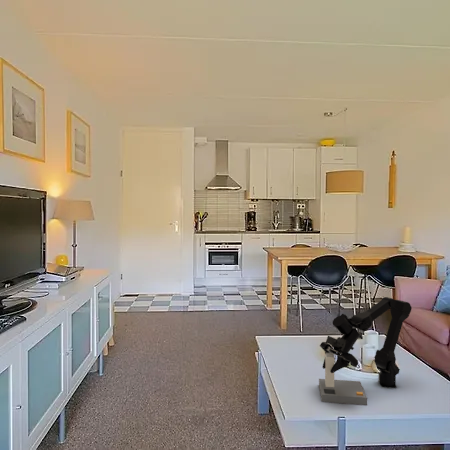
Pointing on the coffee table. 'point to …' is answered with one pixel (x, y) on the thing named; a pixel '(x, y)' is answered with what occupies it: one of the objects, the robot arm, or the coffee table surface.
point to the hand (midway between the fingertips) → (327, 370)
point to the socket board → (343, 392)
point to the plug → (328, 366)
